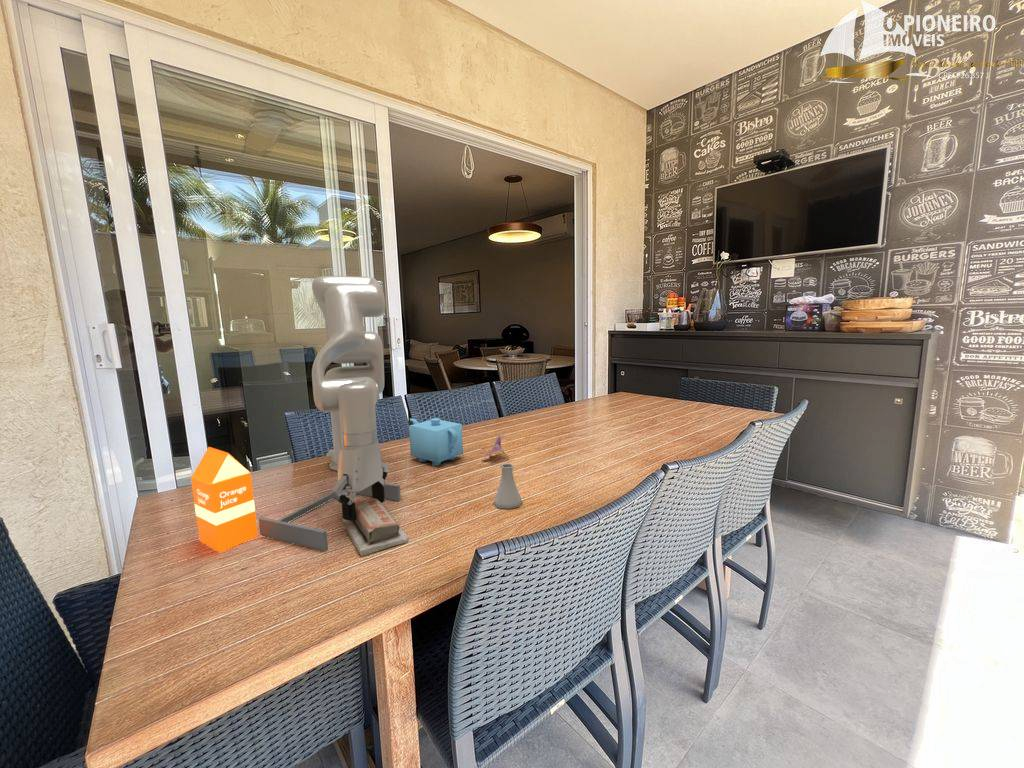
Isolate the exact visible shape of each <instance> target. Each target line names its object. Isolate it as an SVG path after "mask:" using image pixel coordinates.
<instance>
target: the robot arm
mask: <svg viewBox="0 0 1024 768" xmlns="http://www.w3.org/2000/svg"><path fill="white" fill-rule="evenodd" d="M311 290H312V294H313V297H314V299H315V301H316V304H317V305H318V307H319V309H320V311H321V313H322V315H323V318H324V323H325V324H324V325H325V337H326V339H325V340H326V343H325V344H324V345H323V347H322V348H321V349H319V351H318V352H317V355H316V356H315V357H314V360H313V363H312V368H311V383H312V393H313V394H312V395H313V401H314V405H315V407H316V408H317V409H318V410H319V411H320V412H323V413H330V421H331V434H332V443H333V444H332V445H333V449H329V450H328V452H327V453H326V454H325V456H326V457H327V458H331V461H330V463H329V468H330V470H332V471H336V472H337V482H336V484H335V485H334V486H333V487H332V488H331V493H333V495H334V497H335V498H334V499H335V501H337V502H338V503H339V504H341V513H342V517H343V519H345V520H349V521H355V520H356V508H355V503H353V502H354V500H355V497H356V495H357V494H356V493H357V492H360V491H362V490H363V489H365V488H367V487H369V486H371V485H372V484H374V485H372V497H371V498H375V499H378V500H379V501H380V502H381V503H382V504H383V503H385V501H386V499H385V494H384V485H385V483H387V481H386V479H387V477H388V470H389V467H390V465H389V462H384V461H383V457H382V452H381V446H380V443H379V440H378V427H377V415H376V414H377V413H376V404H377V402H378V401H379V399H380V394H381V393H383V392H384V390H385V389H384V388H385V365H384V364H385V361H384V359H385V358H384V346H383V341H382V339H381V336H380V335H379V334H378V333H377V332H375V331H366V330H365V325H364V318H378V317H381V316H383V315H384V313H385V310H386V298H385V294H384V291H383V289H382V286H381V284H380V283H379V282H378V280H377V279H376V278H374V277H373V276H372V277H371V276H352V275H350V276H348V275H322V276H318V277H317V276H316V277H315V278H314V279H313V280H312V282H311ZM332 363H335V364H340V365H341V364H343V365H344V364H362V363H365V364H368V365H350V366H349V365H348V366H347V365H346V366H338V367H333V368H331V369H329V370H327V371H326V369H327V368H328V366H329V365H330V364H332ZM350 487H351V488H352V489H349V488H350ZM342 491H343V492H342ZM348 492H349V493H348ZM348 494H349V496H348Z"/></svg>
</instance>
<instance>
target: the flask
mask: <svg viewBox="0 0 1024 768" xmlns="http://www.w3.org/2000/svg"><path fill="white" fill-rule="evenodd" d="M500 468H501V477H500V482H499V486H498V489H497V492H496V495H495V497H494V500H493V504H494V505H495V507H496V508H497V509H508V510H509V509H514V508H520V507H521V505H522V503H523V500H522V497H521V496H520V495H521V494H520V491H519V490H518V487H517V484H516V481H515V479H514V472H513V469H514V464H512V463H507V462H505V463H502V464H500Z"/></svg>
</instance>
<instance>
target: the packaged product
mask: <svg viewBox="0 0 1024 768" xmlns="http://www.w3.org/2000/svg"><path fill="white" fill-rule="evenodd" d="M353 503H355V508H356V520H355V521H349V520H345V519H343V516H341V520H342V523H343V525H344V527H345V529H346V531H347V534H348V536H349V539H350V540H351V542H352V543H353V545H354V547H355V549H356V550H357V551H358V553H359V555H360V556H361V557H364V556H368V555H370V554H373V553H376V552H379V551H382V550H385V549H388V548H391V547H392V548H393V547H394V546H397V545H402V544H403V545H404V544H407V543H409V541H410V538H409V536H408V535H407V533H406V532H405V531H403V529H402V527H401V526H400V524H399V523H398V522H397V521H396V519H395V518H394V517H393V515H392V514H391V513H389V511H388V509H386V507H385V506H384V505H383V503H381V502H380V501H379V500H378V499H375V498H372V497H369V498H366V499H362V500H357V501H353Z"/></svg>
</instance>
